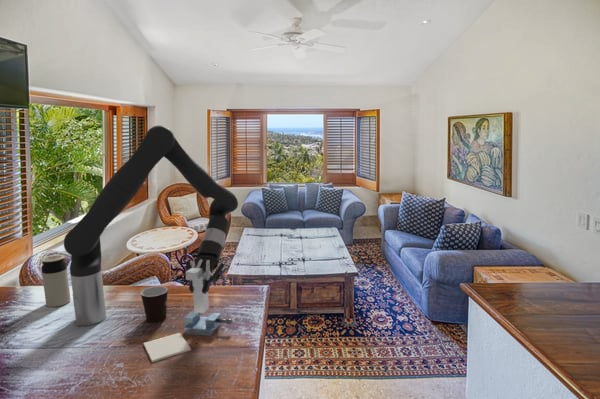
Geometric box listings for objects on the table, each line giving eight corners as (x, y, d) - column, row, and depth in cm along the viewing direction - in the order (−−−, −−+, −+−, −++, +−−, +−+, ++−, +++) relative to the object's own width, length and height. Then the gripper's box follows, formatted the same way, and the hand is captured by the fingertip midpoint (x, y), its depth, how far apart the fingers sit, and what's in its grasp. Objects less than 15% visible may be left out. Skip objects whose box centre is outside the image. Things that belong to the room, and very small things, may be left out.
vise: (194, 321, 134) (193, 308, 134) (237, 325, 131) (236, 312, 130) (182, 333, 127) (181, 319, 126) (227, 337, 124) (227, 324, 123)
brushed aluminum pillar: (199, 307, 131) (196, 264, 128) (208, 308, 130) (206, 264, 127) (188, 317, 123) (185, 272, 121) (198, 318, 123) (196, 272, 120)
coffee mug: (161, 325, 132) (158, 297, 130) (138, 323, 133) (135, 295, 132) (178, 310, 143) (176, 283, 141) (156, 308, 145) (154, 282, 143)
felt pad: (152, 362, 111) (151, 360, 111) (143, 344, 120) (143, 343, 120) (190, 350, 117) (190, 348, 117) (179, 334, 126) (179, 332, 126)
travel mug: (74, 301, 151) (69, 256, 148) (52, 309, 145) (46, 262, 141) (64, 296, 155) (58, 253, 152) (42, 304, 149) (35, 258, 146)
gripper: (189, 238, 133) (172, 286, 124) (228, 240, 130) (214, 289, 121) (197, 248, 139) (181, 295, 130) (234, 250, 136) (222, 298, 127)
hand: (197, 292), depth 125 cm, fingers closed on brushed aluminum pillar, 3 cm apart
